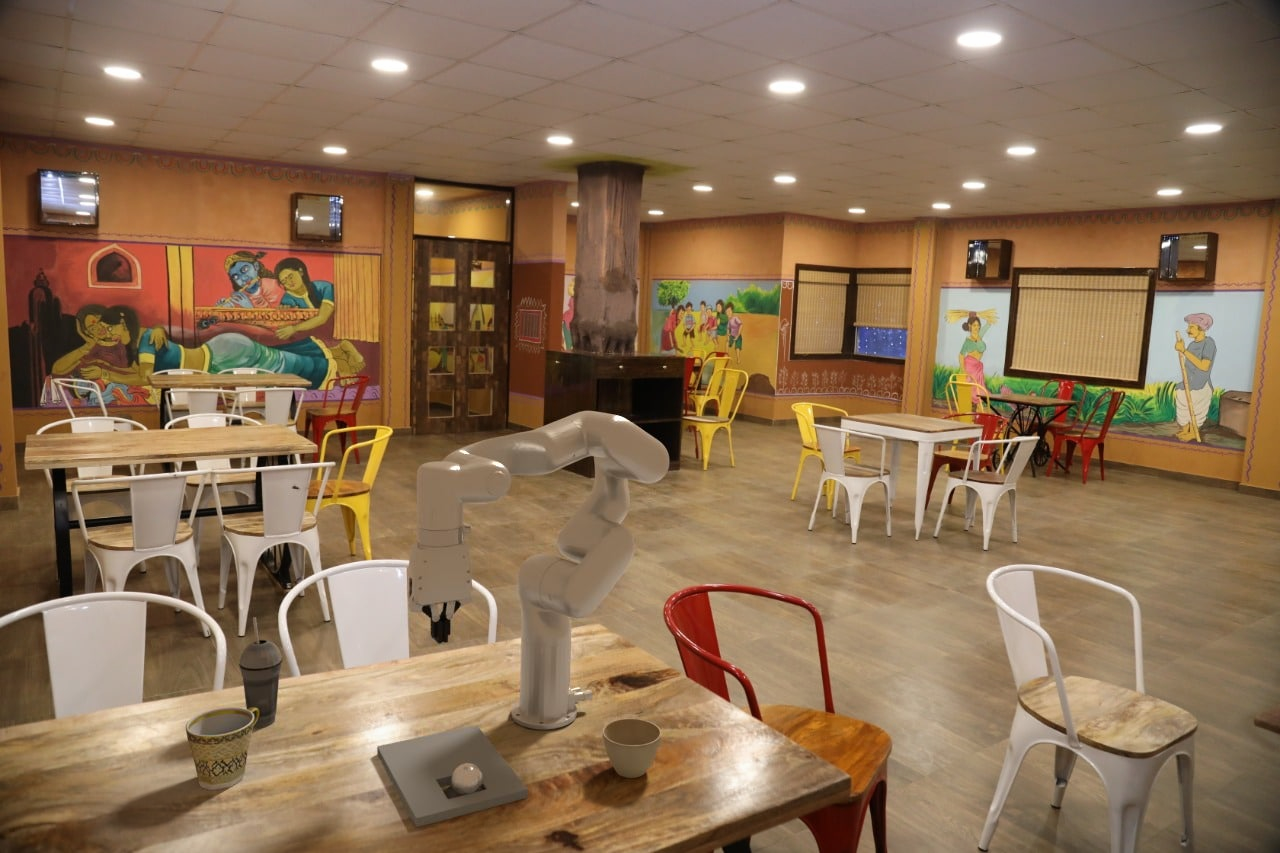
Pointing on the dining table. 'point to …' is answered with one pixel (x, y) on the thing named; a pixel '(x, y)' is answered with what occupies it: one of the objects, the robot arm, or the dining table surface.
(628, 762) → the flower pot
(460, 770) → the ball
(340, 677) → the dining table surface
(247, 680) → the beverage cup
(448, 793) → the grey flat plate
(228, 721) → the ceramic cup
